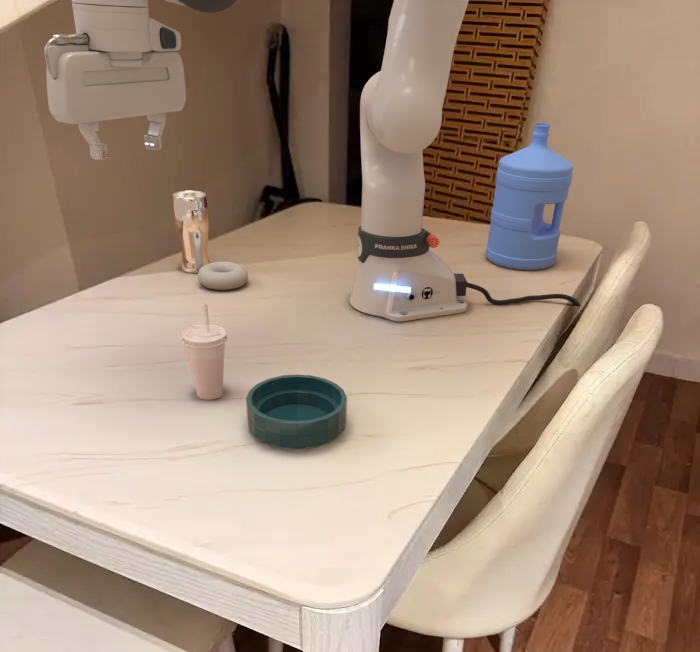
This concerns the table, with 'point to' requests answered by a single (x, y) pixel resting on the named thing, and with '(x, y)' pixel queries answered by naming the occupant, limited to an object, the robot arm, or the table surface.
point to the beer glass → (192, 228)
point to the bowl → (296, 411)
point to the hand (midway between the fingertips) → (127, 154)
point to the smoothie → (206, 356)
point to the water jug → (528, 205)
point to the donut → (222, 275)
